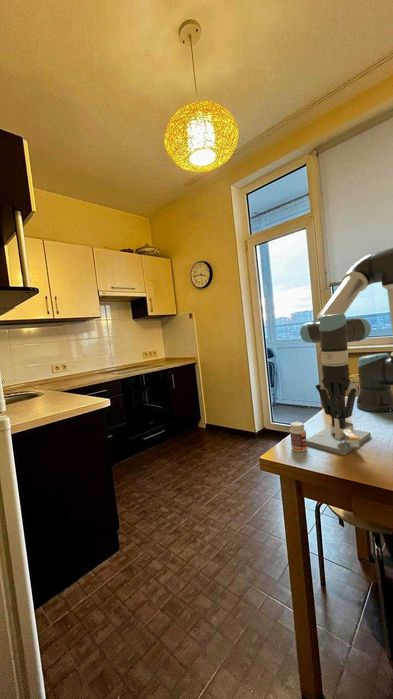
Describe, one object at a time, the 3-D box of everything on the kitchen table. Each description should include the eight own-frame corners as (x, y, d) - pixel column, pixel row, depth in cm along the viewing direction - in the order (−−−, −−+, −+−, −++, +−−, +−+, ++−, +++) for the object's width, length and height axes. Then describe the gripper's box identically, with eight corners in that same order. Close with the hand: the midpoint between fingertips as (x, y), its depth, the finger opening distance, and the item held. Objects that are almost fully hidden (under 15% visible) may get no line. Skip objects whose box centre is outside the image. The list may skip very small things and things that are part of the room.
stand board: (332, 429, 107) (332, 424, 107) (372, 437, 96) (372, 432, 96) (305, 444, 96) (304, 439, 96) (346, 455, 85) (345, 450, 85)
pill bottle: (305, 453, 90) (303, 426, 90) (290, 451, 93) (287, 425, 92) (308, 447, 94) (306, 421, 94) (293, 445, 97) (291, 420, 96)
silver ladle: (328, 429, 102) (327, 419, 102) (349, 428, 101) (348, 418, 101) (342, 448, 86) (341, 436, 86) (368, 448, 85) (367, 435, 85)
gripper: (309, 365, 93) (314, 436, 94) (350, 367, 82) (355, 447, 84) (322, 361, 97) (326, 429, 99) (362, 363, 87) (366, 439, 88)
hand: (339, 437), depth 91 cm, fingers closed
